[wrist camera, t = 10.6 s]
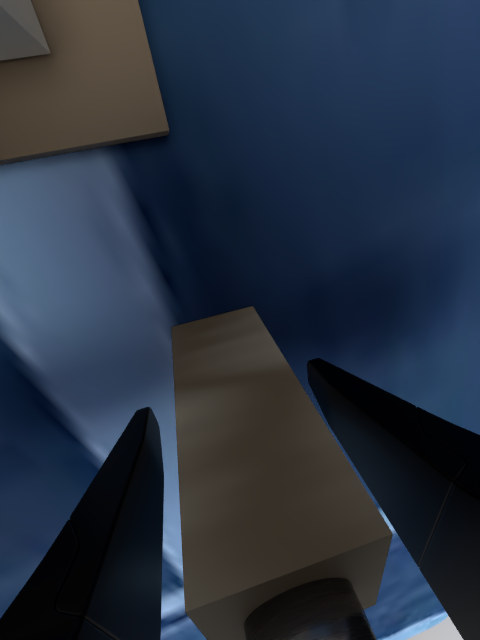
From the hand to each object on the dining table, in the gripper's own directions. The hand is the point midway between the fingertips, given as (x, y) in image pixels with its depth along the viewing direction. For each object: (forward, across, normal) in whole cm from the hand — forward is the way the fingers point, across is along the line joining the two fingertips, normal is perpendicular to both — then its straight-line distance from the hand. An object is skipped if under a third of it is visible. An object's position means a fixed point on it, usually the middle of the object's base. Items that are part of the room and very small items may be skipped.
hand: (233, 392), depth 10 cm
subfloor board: (+2, +10, -16) cm, 19 cm away
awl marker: (+2, 0, 0) cm, 2 cm away
